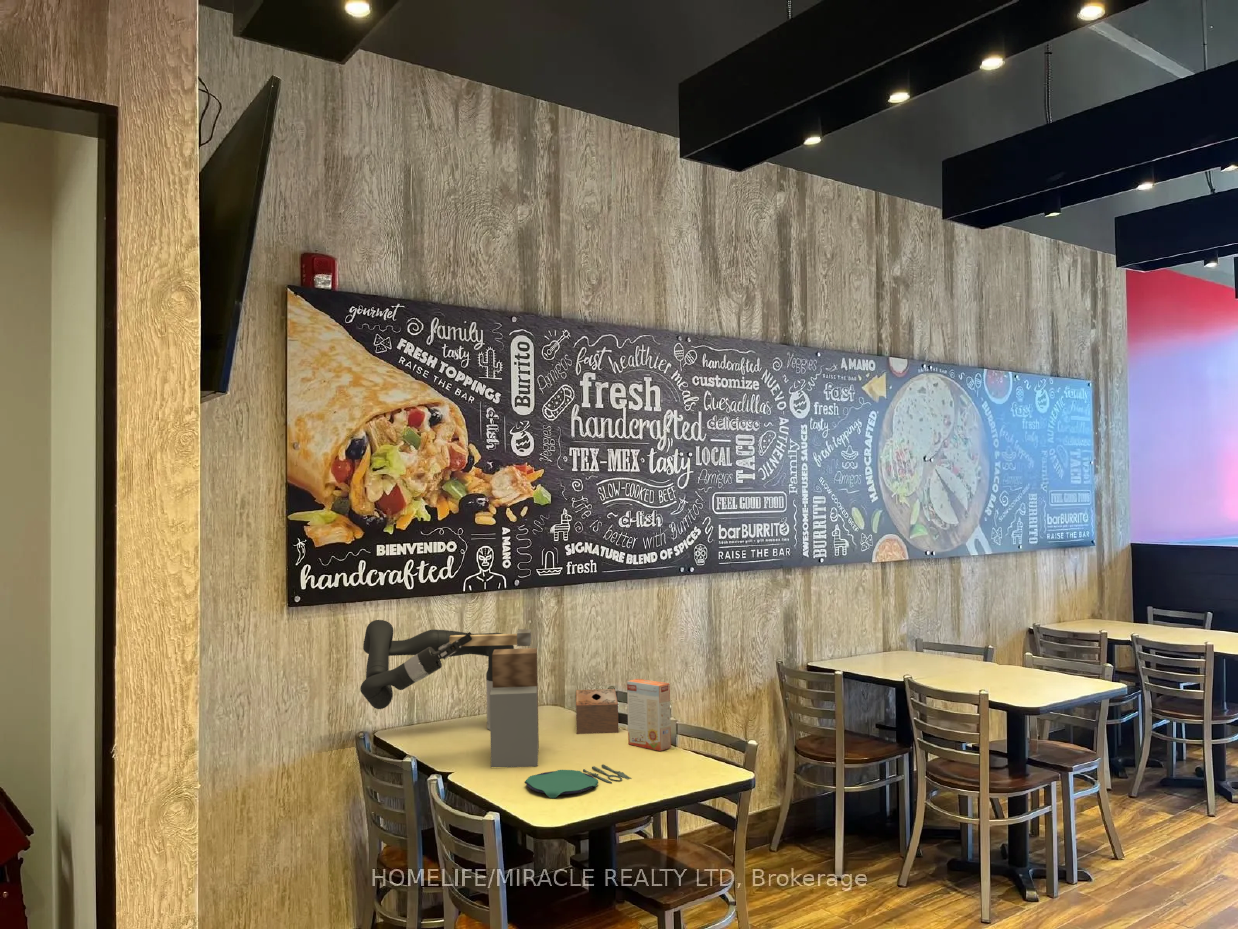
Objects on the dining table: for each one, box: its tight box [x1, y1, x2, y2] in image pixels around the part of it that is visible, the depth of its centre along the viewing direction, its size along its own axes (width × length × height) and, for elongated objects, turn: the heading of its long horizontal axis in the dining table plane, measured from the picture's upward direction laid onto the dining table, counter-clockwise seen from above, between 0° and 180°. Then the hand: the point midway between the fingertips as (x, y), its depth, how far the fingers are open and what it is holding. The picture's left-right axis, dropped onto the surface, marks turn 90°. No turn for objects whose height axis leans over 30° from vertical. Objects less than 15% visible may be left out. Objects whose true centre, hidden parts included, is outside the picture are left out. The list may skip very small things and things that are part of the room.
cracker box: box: [626, 678, 672, 752], centre depth 292 cm, size 14×6×21 cm, turn 47°
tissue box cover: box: [575, 688, 619, 735], centre depth 323 cm, size 26×14×10 cm, turn 3°
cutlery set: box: [524, 764, 633, 799], centre depth 255 cm, size 20×30×2 cm, turn 125°
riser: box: [492, 647, 540, 750], centre depth 289 cm, size 14×10×32 cm
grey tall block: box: [489, 686, 539, 768], centre depth 277 cm, size 14×10×22 cm
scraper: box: [449, 628, 532, 647], centre depth 281 cm, size 25×8×4 cm, turn 93°
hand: (470, 635), depth 280 cm, fingers closed on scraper, 3 cm apart
